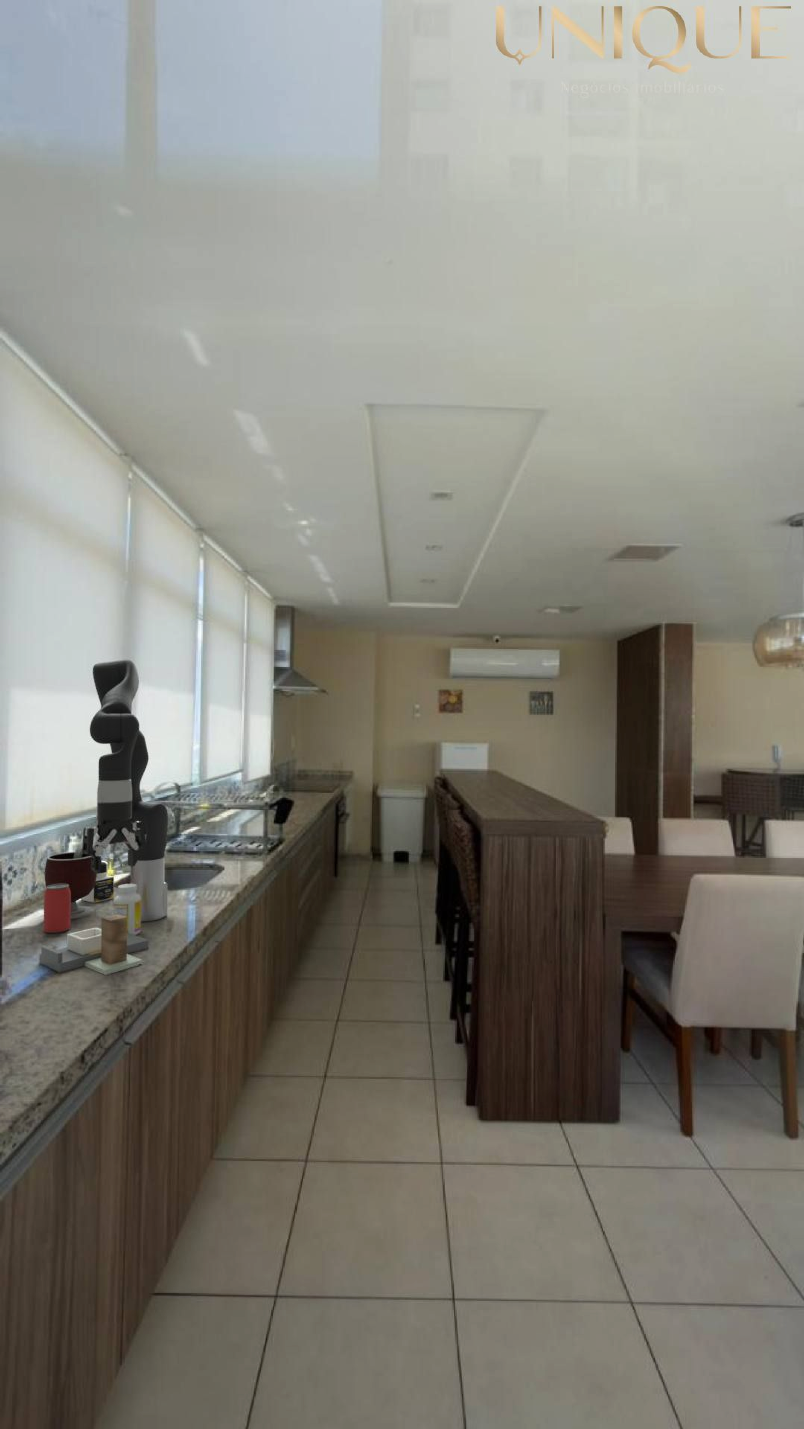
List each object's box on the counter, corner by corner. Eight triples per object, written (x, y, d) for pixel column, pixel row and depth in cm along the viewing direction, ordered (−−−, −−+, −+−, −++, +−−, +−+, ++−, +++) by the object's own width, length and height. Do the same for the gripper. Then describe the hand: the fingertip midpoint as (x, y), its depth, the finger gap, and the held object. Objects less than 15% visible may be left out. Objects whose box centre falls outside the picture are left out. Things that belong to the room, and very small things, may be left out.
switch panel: (127, 940, 179) (127, 924, 179) (148, 947, 173) (148, 931, 173) (39, 963, 162) (39, 945, 162) (59, 972, 156) (59, 954, 156)
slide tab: (96, 941, 171) (96, 927, 172) (111, 947, 167) (111, 932, 167) (67, 948, 166) (67, 934, 166) (82, 955, 161) (82, 939, 161)
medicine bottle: (93, 903, 217) (94, 864, 217) (80, 900, 221) (80, 862, 221) (114, 898, 223) (114, 860, 223) (100, 895, 227) (100, 858, 227)
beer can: (76, 928, 190) (76, 884, 190) (57, 935, 184) (57, 889, 184) (57, 925, 192) (57, 882, 192) (37, 932, 186) (38, 887, 186)
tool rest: (121, 956, 167) (121, 951, 167) (142, 964, 161) (142, 959, 161) (84, 966, 160) (84, 961, 160) (105, 974, 154) (105, 970, 154)
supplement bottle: (136, 928, 189) (137, 881, 190) (143, 934, 184) (144, 886, 184) (111, 933, 186) (111, 884, 186) (117, 939, 180) (117, 889, 180)
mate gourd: (83, 920, 198) (83, 850, 198) (34, 920, 198) (35, 849, 198) (107, 906, 213) (107, 841, 213) (62, 906, 213) (62, 840, 214)
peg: (117, 956, 164) (117, 914, 164) (126, 960, 161) (126, 916, 161) (101, 961, 160) (101, 917, 161) (110, 964, 158) (110, 920, 158)
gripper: (134, 795, 170) (133, 862, 169) (76, 800, 158) (76, 872, 158) (151, 797, 165) (151, 866, 165) (93, 803, 154) (93, 876, 154)
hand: (114, 869), depth 162 cm, fingers open, 8 cm apart
